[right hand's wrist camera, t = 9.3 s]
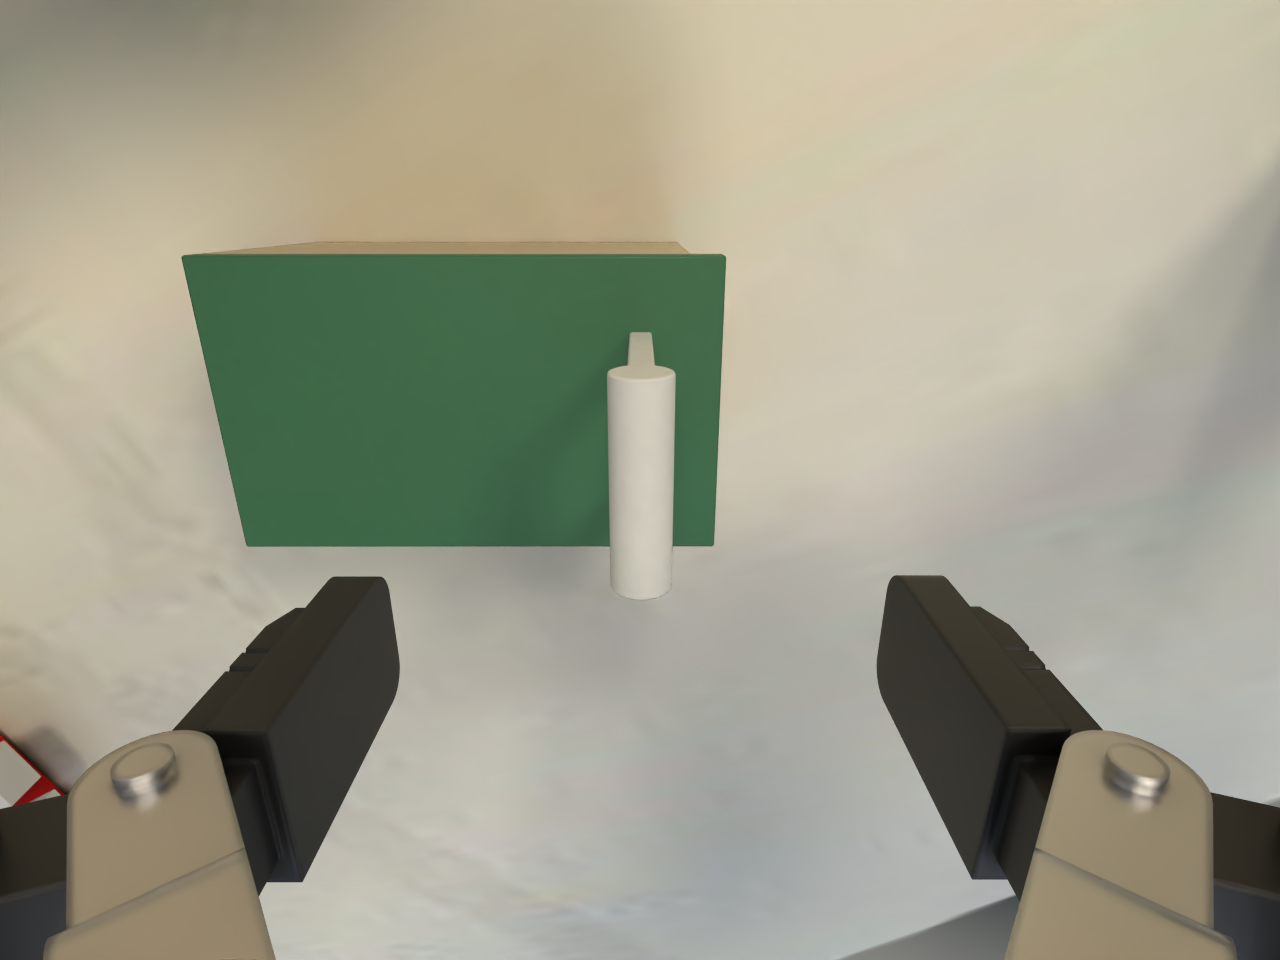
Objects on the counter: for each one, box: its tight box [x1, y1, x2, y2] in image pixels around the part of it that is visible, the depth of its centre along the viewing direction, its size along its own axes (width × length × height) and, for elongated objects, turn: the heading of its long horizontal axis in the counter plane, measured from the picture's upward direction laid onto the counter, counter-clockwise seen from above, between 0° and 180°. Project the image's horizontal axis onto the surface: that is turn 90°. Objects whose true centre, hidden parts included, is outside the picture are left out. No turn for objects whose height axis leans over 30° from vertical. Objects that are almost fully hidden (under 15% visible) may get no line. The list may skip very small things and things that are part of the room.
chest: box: [203, 242, 690, 254], centre depth 28 cm, size 16×10×9 cm, turn 90°
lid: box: [182, 254, 726, 600], centre depth 20 cm, size 17×10×8 cm, turn 90°
